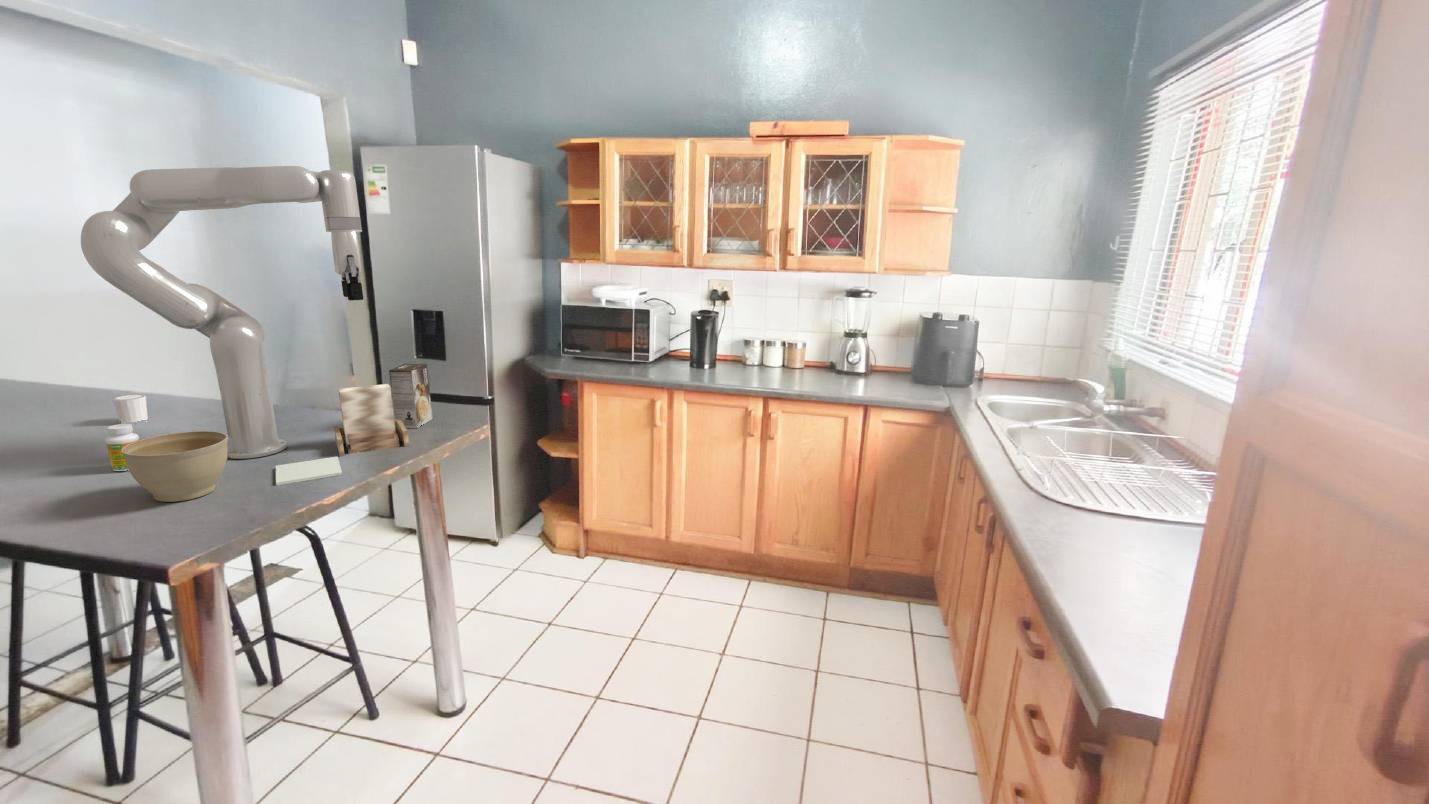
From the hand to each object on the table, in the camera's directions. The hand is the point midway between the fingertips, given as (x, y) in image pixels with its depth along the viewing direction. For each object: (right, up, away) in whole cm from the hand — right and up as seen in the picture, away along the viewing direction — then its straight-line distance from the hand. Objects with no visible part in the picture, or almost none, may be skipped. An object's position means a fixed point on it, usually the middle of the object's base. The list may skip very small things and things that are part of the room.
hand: (353, 298), depth 159 cm
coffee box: (+5, -31, +21) cm, 38 cm away
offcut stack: (+5, -37, +1) cm, 37 cm away
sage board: (-1, -41, -16) cm, 43 cm away
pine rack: (+3, -36, +3) cm, 36 cm away
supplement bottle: (-41, -40, -16) cm, 59 cm away
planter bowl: (-17, -44, -29) cm, 55 cm away
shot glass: (-70, -31, +18) cm, 78 cm away
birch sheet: (+2, -35, +5) cm, 36 cm away
